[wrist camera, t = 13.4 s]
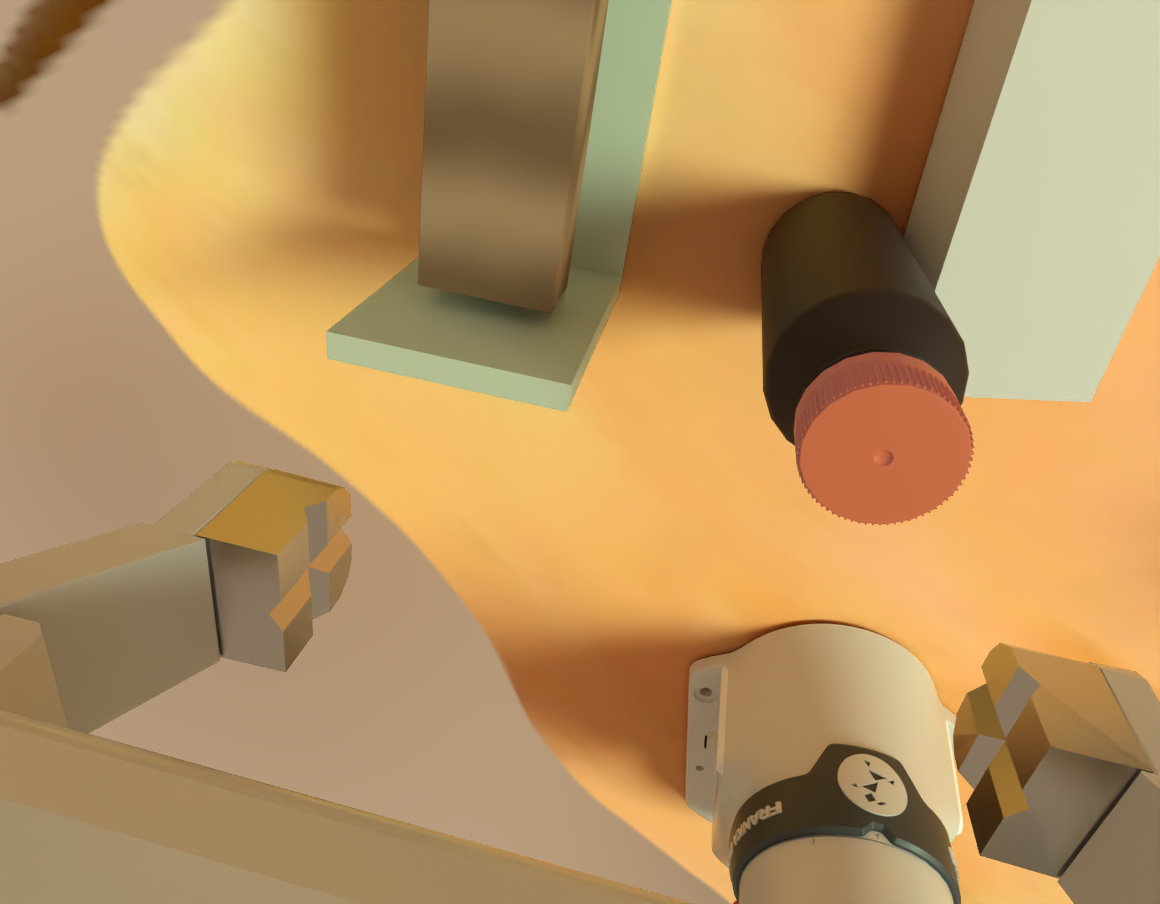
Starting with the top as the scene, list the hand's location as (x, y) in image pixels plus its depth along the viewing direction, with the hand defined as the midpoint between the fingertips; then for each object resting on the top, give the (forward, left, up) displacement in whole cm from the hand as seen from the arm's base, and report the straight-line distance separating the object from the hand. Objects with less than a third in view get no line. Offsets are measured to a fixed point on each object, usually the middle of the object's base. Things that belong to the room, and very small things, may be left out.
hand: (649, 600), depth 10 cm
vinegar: (-4, -6, -34) cm, 35 cm away
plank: (+1, +9, -28) cm, 29 cm away
